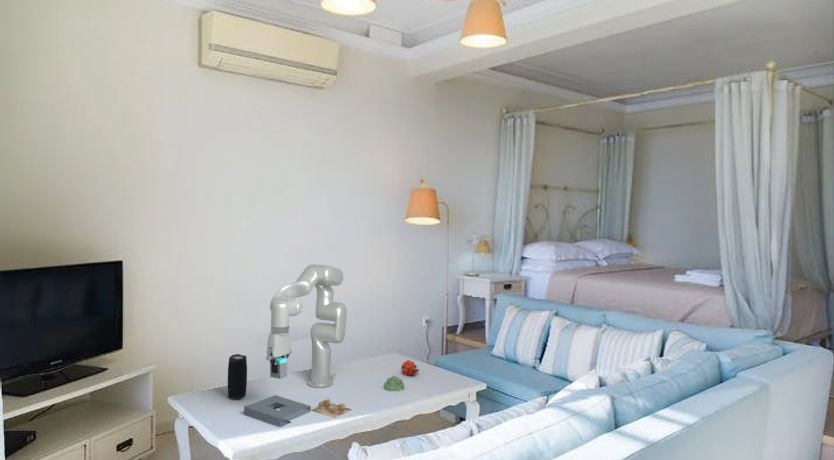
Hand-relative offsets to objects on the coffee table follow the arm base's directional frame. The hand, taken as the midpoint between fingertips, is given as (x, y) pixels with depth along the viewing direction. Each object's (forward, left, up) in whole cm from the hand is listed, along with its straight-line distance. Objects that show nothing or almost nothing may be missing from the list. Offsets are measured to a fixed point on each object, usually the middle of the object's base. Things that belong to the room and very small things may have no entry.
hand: (278, 371), depth 238 cm
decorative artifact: (-59, +21, -20) cm, 66 cm away
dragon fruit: (-82, +16, -19) cm, 86 cm away
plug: (0, 0, -2) cm, 2 cm away
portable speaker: (-3, -30, -19) cm, 36 cm away
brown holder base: (-16, +17, -19) cm, 30 cm away
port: (0, 0, -19) cm, 19 cm away
